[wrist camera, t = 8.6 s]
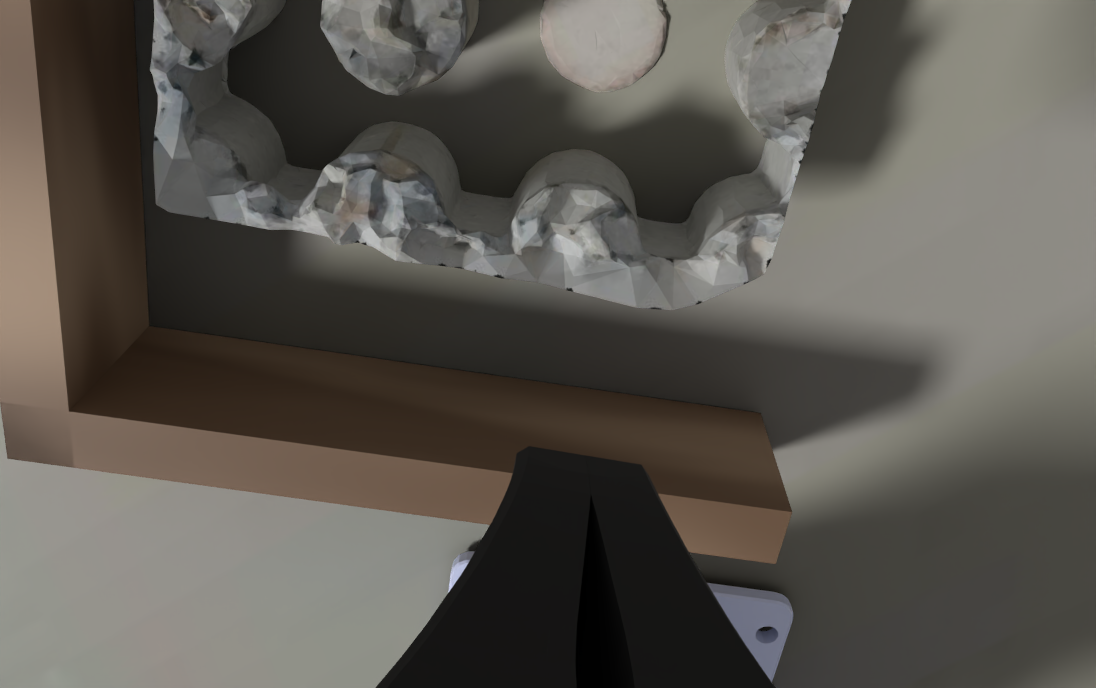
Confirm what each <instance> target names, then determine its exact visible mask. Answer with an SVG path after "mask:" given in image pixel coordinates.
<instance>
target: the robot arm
mask: <svg viewBox="0 0 1096 688" xmlns="http://www.w3.org/2000/svg"><path fill="white" fill-rule="evenodd" d="M792 621H793V610H792V607H791V604H790V602H789V600H788V598H786V597H785V596H784V595H783V594H780V593H776V592H771V591H764V590H756V589H749V588H742V587H734V586H727V585H720V584H712V583H707V582H706V581H705V579H704V577H703V576H702V574H701V572H700V571H699V569H698V567H697V565H696V564H695V562H694V560H693V558H692V557H691V555H690V553H689V551H688V550H687V548H686V546H685V544H684V542H683V540H682V539H681V537H680V535H679V533H678V531H677V529H676V528H675V526H674V524H673V522H672V520H671V518H670V516H669V514H668V512H667V511H666V509H665V507H664V505H663V503H662V501H661V499H660V497H659V495H658V493H657V491H656V489H655V487H654V485H653V483H652V481H651V479H650V477H649V475H648V473H647V472H646V470H645V469H644V468H643V466H642V465H641V464H635V463H629V462H623V461H617V460H611V459H605V458H599V457H593V456H586V455H580V454H574V453H568V452H562V451H556V450H550V449H544V448H538V447H532V446H528V447H527V448H525V449H523V450H521V451H520V452H518V453H517V454H516V459H515V464H514V469H513V474H512V477H511V480H510V483H509V486H508V488H507V491H506V493H505V496H504V498H503V500H502V502H501V504H500V506H499V508H498V510H497V513H496V515H495V517H494V519H493V521H492V523H491V524H490V526H489V528H488V530H487V531H486V533H485V535H484V537H483V538H482V540H481V542H480V544H479V545H478V547H477V549H476V551H467V552H465V553H462V554H460V555H459V556H458V557H456V558H455V560H454V562H453V565H452V570H451V575H450V583H449V591H448V594H447V596H446V597H445V599H444V600H443V601H442V603H441V604H440V606H439V607H438V609H437V610H436V612H435V613H434V614H433V616H432V617H431V619H430V620H429V622H428V623H427V624H426V626H425V627H424V628H423V630H422V631H421V632H420V634H419V635H418V636H417V638H416V639H415V640H414V641H413V643H412V644H411V645H410V647H409V648H408V649H407V650H406V652H405V653H404V654H403V655H402V657H401V658H400V659H399V660H398V662H397V663H396V664H395V665H394V667H393V668H392V669H391V670H390V671H389V672H388V674H387V675H386V676H385V677H384V678H383V680H382V681H381V682H380V683H379V684H378V685H377V687H376V688H775V686H774V685H773V684H772V680H773V678H774V675H775V672H776V669H777V666H778V663H779V660H780V657H781V654H782V651H783V648H784V645H785V642H786V639H787V636H788V633H789V630H790V627H791V624H792ZM767 626H770V627H773V628H772V629H770V630H768V631H759V630H758V629H760V628H762V627H767Z"/></svg>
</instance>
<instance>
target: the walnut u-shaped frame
mask: <svg viewBox="0 0 1096 688" xmlns="http://www.w3.org/2000/svg"><path fill="white" fill-rule="evenodd" d="M0 404H1V412H2V420H3V427H4V435H5V443H6V450H7V458H8V459H15V460H22V461H29V462H37V463H44V464H51V465H58V466H66V467H73V468H80V469H88V470H95V471H102V472H109V473H117V474H124V475H131V476H139V477H146V478H153V479H160V480H168V481H175V482H182V483H189V484H197V485H204V486H211V487H219V488H226V489H233V490H240V491H248V492H255V493H262V494H270V495H277V496H284V497H291V498H299V499H306V500H313V501H320V502H328V503H335V504H342V505H350V506H357V507H364V508H371V509H379V510H386V511H393V512H401V513H408V514H415V515H422V516H430V517H437V518H444V519H451V520H459V521H466V522H473V523H481V524H488V525H490V524H491V523H492V521H493V519H494V517H495V515H496V513H497V510H498V508H499V506H500V504H501V502H502V500H503V498H504V496H505V493H506V491H507V488H508V486H509V483H510V480H511V477H512V474H513V469H514V464H515V459H516V454H517V453H518V452H520V451H521V450H523V449H525V448H527V447H528V446H532V447H538V448H544V449H550V450H556V451H562V452H568V453H574V454H580V455H586V456H593V457H599V458H605V459H611V460H617V461H623V462H629V463H635V464H641V465H642V466H643V468H644V469H645V470H646V472H647V473H648V475H649V477H650V479H651V481H652V483H653V485H654V487H655V489H656V491H657V493H658V495H659V497H660V499H661V501H662V503H663V505H664V507H665V509H666V511H667V512H668V514H669V516H670V518H671V520H672V522H673V524H674V526H675V528H676V529H677V531H678V533H679V535H680V537H681V539H682V540H683V542H684V544H685V546H686V548H687V550H688V551H689V552H692V553H699V554H706V555H713V556H721V557H728V558H735V559H743V560H750V561H757V562H764V563H772V564H776V562H777V558H778V555H779V552H780V549H781V546H782V543H783V540H784V536H785V533H786V530H787V527H788V524H789V521H790V517H791V514H792V510H791V507H790V504H789V501H788V498H787V494H786V491H785V488H784V485H783V482H782V479H781V476H780V473H779V469H778V466H777V463H776V460H775V457H774V454H773V451H772V447H771V444H770V441H769V438H768V435H767V432H766V429H765V426H764V422H763V419H762V416H761V413H755V412H748V411H741V410H734V409H727V408H720V407H713V406H706V405H699V404H692V403H685V402H678V401H671V400H664V399H657V398H650V397H643V396H636V395H629V394H622V393H615V392H608V391H601V390H594V389H587V388H580V387H573V386H566V385H559V384H552V383H545V382H538V381H531V380H524V379H517V378H510V377H503V376H496V375H489V374H482V373H475V372H468V371H461V370H454V369H447V368H440V367H433V366H426V365H419V364H412V363H405V362H398V361H391V360H384V359H377V358H370V357H363V356H356V355H349V354H342V353H335V352H328V351H321V350H314V349H307V348H300V347H293V346H286V345H279V344H272V343H265V342H258V341H251V340H244V339H237V338H230V337H223V336H216V335H209V334H202V333H195V332H188V331H181V330H174V329H167V328H160V327H153V326H149V312H148V292H147V271H146V250H145V229H144V209H143V188H142V167H141V146H140V126H139V105H138V84H137V64H136V43H135V22H134V1H133V0H0Z"/></svg>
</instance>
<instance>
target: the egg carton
mask: <svg viewBox="0 0 1096 688" xmlns="http://www.w3.org/2000/svg"><path fill="white" fill-rule="evenodd" d="M851 1H852V0H758V1H756V2H755V3H754V4H753V5H751V6H750V7H749V8H748V9H747V10H746V11H745V12H744V13H743V14H742V15H741V16H740V17H739V18H738V20H737V21H736V23H735V24H734V26H733V28H732V30H731V33H730V35H729V37H728V41H727V44H726V49H725V71H726V77H727V84H728V86H729V88H730V90H731V92H732V94H733V96H734V98H735V99H736V101H737V103H738V104H739V106H740V108H741V110H742V111H743V113H744V114H745V115H746V117H747V118H748V119H749V121H750V122H751V123H752V125H753V126H754V127H755V128H756V129H757V130H758V131H759V132H760V133H761V134H762V135H763V136H764V137H765V138H767V141H766V143H765V147H764V150H763V154H762V157H761V160H760V163H759V165H758V167H757V168H756V169H755V170H754V171H753V172H752V173H750V174H742V175H738V176H733V177H729V178H727V179H724V180H722V181H720V182H718V183H715V184H714V185H712V186H711V187H710V188H708V189H707V190H706V191H705V192H704V193H703V194H702V195H701V196H700V198H699V199H698V200H697V201H696V203H695V204H694V206H693V208H692V211H691V214H690V216H689V217H688V219H687V220H686V221H685V222H684V223H680V224H676V223H666V222H658V221H651V220H647V219H643V218H640V217H637V212H636V205H635V196H634V193H633V191H632V188H631V186H630V184H629V181H628V179H627V177H626V176H625V174H624V173H623V171H621V170H620V169H619V167H618V166H617V165H616V164H614V163H613V162H612V161H610V160H609V159H607V158H606V157H604V156H602V155H600V154H598V153H596V152H593V151H590V150H580V149H569V150H565V151H559V152H553V153H551V154H549V155H548V156H546V157H544V158H542V159H540V160H539V161H538V162H537V163H536V164H535V165H534V166H533V167H532V168H530V169H529V170H528V171H527V172H526V174H525V176H524V178H523V180H522V181H521V183H520V185H519V186H518V188H517V190H516V192H515V193H514V195H513V197H510V198H499V197H493V196H487V195H480V194H474V193H469V192H465V191H463V190H461V186H460V181H459V173H458V169H457V166H456V164H455V161H454V159H453V157H452V155H451V154H450V152H449V150H448V149H447V148H446V146H445V145H444V144H443V143H442V141H441V140H440V139H439V138H438V137H436V136H435V135H434V134H433V133H431V132H430V131H428V130H426V129H423V128H421V127H418V126H415V125H412V124H407V123H403V122H395V121H392V122H383V123H380V124H376V125H373V126H371V127H369V128H367V129H366V130H364V131H363V132H361V133H360V134H359V135H358V136H357V137H356V138H355V139H354V140H353V141H352V142H351V144H350V145H349V146H348V147H347V148H346V149H345V150H344V151H343V153H342V154H341V155H340V156H339V157H338V158H337V159H336V160H334V161H332V162H331V163H329V164H328V165H327V166H326V167H325V168H324V169H323V171H321V170H314V169H307V168H301V167H295V166H292V165H290V164H288V163H287V161H286V155H285V150H284V147H283V144H282V141H281V138H280V135H279V134H278V132H277V130H276V129H275V127H274V125H273V124H272V122H271V121H270V119H269V118H268V117H266V116H265V115H264V114H263V113H262V112H260V111H259V110H258V109H257V108H256V107H254V106H253V105H251V104H250V103H248V102H247V101H245V100H244V99H241V98H239V97H237V96H235V95H232V94H231V93H230V91H229V88H228V85H227V73H228V71H227V68H228V64H227V62H228V56H229V50H230V49H231V48H234V47H236V46H237V45H239V43H241V42H243V41H244V40H246V39H248V38H250V37H251V36H253V35H255V34H256V33H258V32H259V31H261V30H262V29H264V28H266V27H267V26H268V25H269V24H270V23H271V22H272V21H273V20H274V18H275V17H276V16H277V15H278V14H279V13H280V12H281V11H282V9H283V7H284V5H285V2H286V0H154V30H153V45H152V59H151V66H150V71H151V73H152V75H153V80H154V84H155V88H156V91H157V94H158V111H157V118H156V125H155V132H154V148H153V160H154V179H155V198H156V205H158V206H160V207H161V208H163V209H165V210H166V211H168V212H171V213H177V214H182V215H188V216H194V217H200V218H206V219H212V220H218V221H224V222H230V223H236V224H241V225H247V226H252V227H257V228H263V229H268V230H297V231H302V232H307V233H313V234H317V235H321V236H325V237H329V238H330V239H331V240H332V241H333V242H334V243H335V244H339V245H344V244H350V243H356V242H358V243H361V244H364V245H367V246H371V247H374V248H375V249H377V250H379V251H380V252H382V253H383V254H385V255H387V256H388V257H390V258H392V259H394V260H395V261H401V262H410V263H418V264H429V265H440V266H447V267H454V268H462V269H466V270H470V271H474V272H478V273H482V274H487V275H491V276H495V277H499V278H504V279H513V280H523V281H532V282H539V283H543V284H546V285H550V286H554V287H557V288H561V289H564V290H568V291H572V292H576V293H580V294H584V295H588V296H592V297H596V298H600V299H604V300H608V301H612V302H616V303H620V304H624V305H628V306H632V307H636V308H648V309H663V310H676V309H680V308H684V307H688V306H692V305H696V304H699V303H702V302H704V301H706V300H709V299H711V298H713V297H715V296H718V295H720V294H722V293H725V292H727V291H729V290H732V289H734V288H736V287H739V286H741V285H743V284H746V283H748V282H750V281H752V280H754V279H756V278H758V277H760V276H762V275H764V273H765V271H766V269H767V267H768V265H769V263H770V261H771V259H772V256H773V253H774V249H775V246H776V243H777V240H778V237H779V235H780V232H781V229H782V226H783V223H784V219H785V215H786V211H787V207H788V203H789V200H790V197H791V193H792V190H793V187H794V183H795V180H796V177H797V174H798V170H799V167H800V164H801V161H802V158H803V155H804V152H805V149H806V146H807V144H808V141H809V138H810V134H811V131H812V127H813V124H814V120H815V115H816V110H817V106H818V103H819V97H820V93H821V90H822V88H823V86H824V83H825V80H826V77H827V73H828V70H829V67H830V64H831V61H832V58H833V55H834V51H835V48H836V44H837V41H838V38H839V34H840V31H841V27H842V24H843V21H844V18H845V16H846V13H847V11H848V8H849V6H850V3H851ZM478 15H479V0H322V9H321V22H320V27H321V29H322V31H323V32H324V34H325V36H326V37H327V39H328V41H329V42H330V44H331V46H332V48H333V49H334V51H335V53H336V55H337V57H338V60H339V62H340V63H342V64H343V66H344V68H345V69H346V71H348V72H349V73H350V74H352V75H353V76H354V77H355V78H357V79H358V80H359V81H361V82H362V83H363V84H365V85H366V86H367V87H369V88H371V89H373V90H376V91H378V92H381V93H383V94H387V95H398V96H399V95H401V94H404V93H406V92H408V91H411V90H413V89H415V88H418V87H420V86H423V85H426V84H428V83H431V82H433V81H436V80H438V79H439V78H440V77H441V76H443V75H444V74H445V73H446V72H447V71H448V70H449V69H450V68H452V67H453V65H454V64H455V62H456V60H457V59H458V57H459V56H460V54H461V52H462V50H463V49H464V47H465V45H466V44H467V42H468V41H469V39H470V38H471V36H472V33H473V32H474V30H475V27H476V25H477V22H478ZM666 27H667V17H666V14H665V12H664V11H663V4H662V1H661V0H545V1H544V4H543V7H542V10H541V13H540V38H541V41H542V43H543V46H544V49H545V52H546V55H547V57H548V60H549V62H550V63H551V64H552V65H553V66H554V67H555V69H556V70H557V71H558V72H559V73H560V74H561V76H562V77H564V78H566V79H568V80H570V81H571V82H573V83H575V84H577V85H578V86H580V87H583V88H586V89H588V90H591V91H594V92H612V91H615V90H619V89H622V88H625V87H627V86H629V85H631V84H633V83H634V82H636V81H637V80H639V79H640V78H641V77H642V76H643V75H644V74H646V73H647V72H648V71H649V70H650V69H651V68H652V67H653V66H654V65H655V63H656V61H657V60H658V58H659V56H660V54H661V52H662V48H663V45H664V42H665V39H666Z"/></svg>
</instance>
